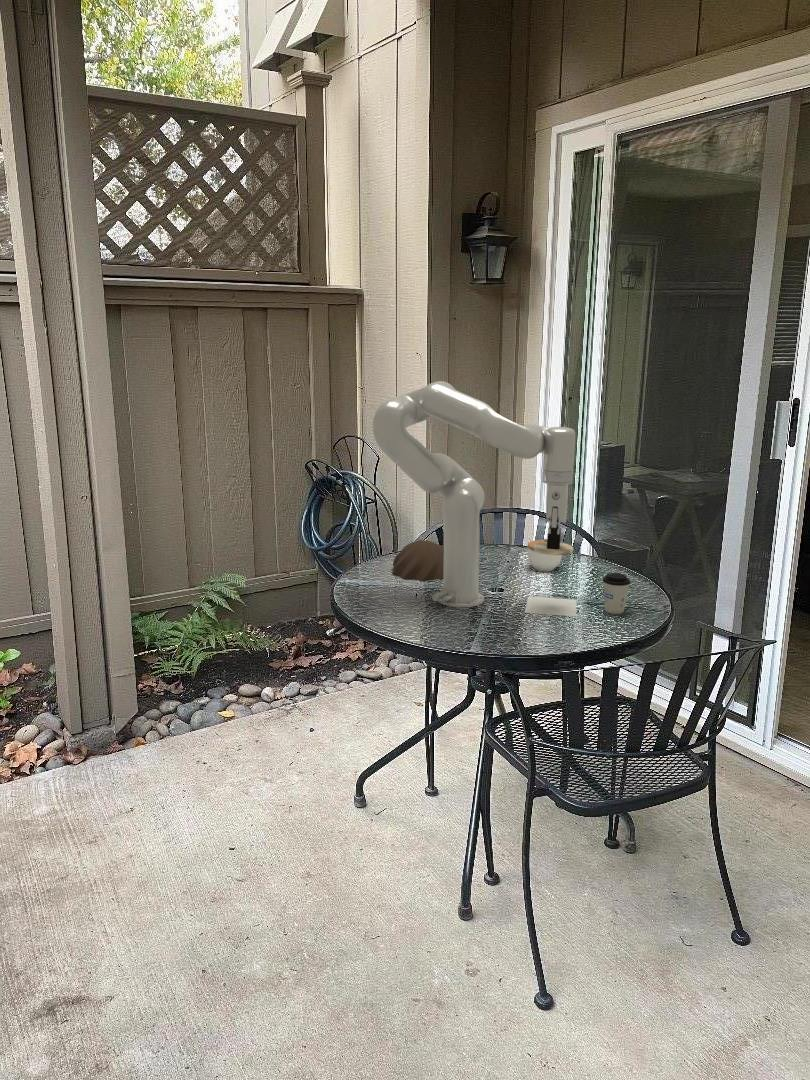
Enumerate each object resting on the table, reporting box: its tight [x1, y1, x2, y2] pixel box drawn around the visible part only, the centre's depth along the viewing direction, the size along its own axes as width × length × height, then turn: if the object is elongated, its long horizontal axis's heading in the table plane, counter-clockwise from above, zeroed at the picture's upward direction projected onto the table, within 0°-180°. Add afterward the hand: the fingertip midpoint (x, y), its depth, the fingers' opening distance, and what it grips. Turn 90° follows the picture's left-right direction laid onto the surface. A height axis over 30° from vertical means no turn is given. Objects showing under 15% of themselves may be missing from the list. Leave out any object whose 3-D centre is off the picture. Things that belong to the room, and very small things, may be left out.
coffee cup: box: [602, 572, 631, 615], centre depth 201 cm, size 7×7×10 cm
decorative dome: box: [391, 539, 444, 582], centre depth 236 cm, size 19×20×10 cm
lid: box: [534, 527, 574, 556], centre depth 201 cm, size 10×10×6 cm
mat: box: [524, 596, 578, 617], centre depth 205 cm, size 13×13×1 cm
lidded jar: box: [527, 538, 563, 572], centre depth 239 cm, size 11×11×9 cm
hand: (553, 546), depth 201 cm, fingers closed on lid, 3 cm apart
